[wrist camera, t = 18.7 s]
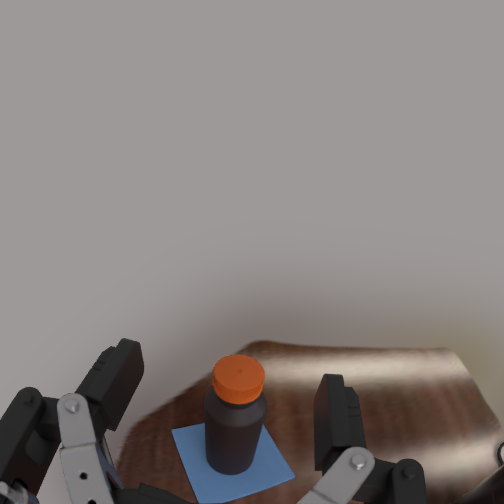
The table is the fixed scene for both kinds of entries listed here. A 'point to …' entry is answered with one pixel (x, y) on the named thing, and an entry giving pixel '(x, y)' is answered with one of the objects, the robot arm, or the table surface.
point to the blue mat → (229, 486)
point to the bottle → (234, 414)
